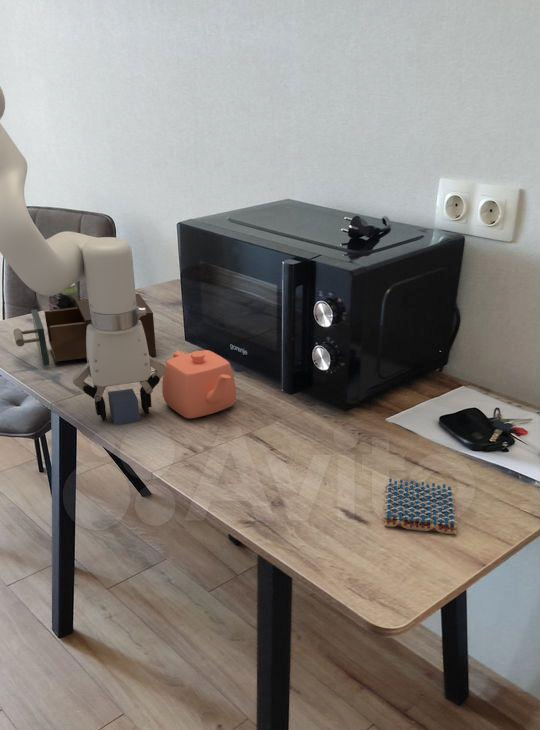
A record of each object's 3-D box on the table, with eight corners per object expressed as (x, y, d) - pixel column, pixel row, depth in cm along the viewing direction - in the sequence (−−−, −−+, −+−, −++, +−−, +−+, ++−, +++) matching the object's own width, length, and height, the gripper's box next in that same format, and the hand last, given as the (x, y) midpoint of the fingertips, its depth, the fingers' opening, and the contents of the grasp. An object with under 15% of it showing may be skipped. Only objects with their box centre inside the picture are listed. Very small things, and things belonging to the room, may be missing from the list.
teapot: (202, 382, 137) (200, 332, 132) (256, 418, 125) (257, 364, 120) (150, 397, 131) (146, 345, 126) (202, 436, 120) (200, 380, 114)
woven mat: (381, 528, 99) (382, 517, 97) (383, 487, 107) (385, 476, 106) (457, 537, 97) (459, 526, 96) (453, 495, 106) (455, 484, 105)
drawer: (21, 369, 139) (14, 331, 135) (16, 348, 148) (9, 312, 144) (106, 358, 144) (102, 321, 140) (96, 338, 153) (92, 303, 149)
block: (115, 425, 122) (112, 402, 120) (110, 414, 126) (107, 391, 123) (140, 421, 124) (137, 398, 121) (134, 410, 127) (132, 388, 125)
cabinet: (91, 365, 143) (85, 320, 138) (81, 343, 153) (75, 300, 148) (156, 356, 148) (153, 312, 142) (142, 335, 157) (139, 293, 152)
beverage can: (51, 328, 160) (43, 276, 153) (84, 328, 161) (77, 275, 154) (47, 339, 155) (38, 285, 148) (81, 338, 155) (74, 284, 149)
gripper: (160, 304, 120) (167, 398, 130) (56, 316, 115) (71, 413, 125) (172, 319, 115) (177, 416, 124) (63, 332, 109) (78, 432, 119)
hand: (124, 413), depth 124 cm, fingers open, 6 cm apart
